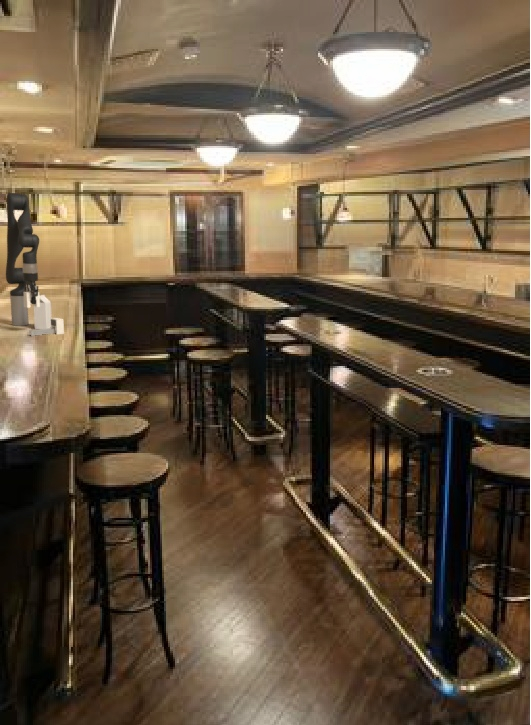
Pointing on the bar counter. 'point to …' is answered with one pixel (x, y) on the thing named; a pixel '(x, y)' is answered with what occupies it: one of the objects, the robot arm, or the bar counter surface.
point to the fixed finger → (57, 325)
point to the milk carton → (42, 314)
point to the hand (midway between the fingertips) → (31, 303)
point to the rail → (42, 331)
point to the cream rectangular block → (28, 297)
